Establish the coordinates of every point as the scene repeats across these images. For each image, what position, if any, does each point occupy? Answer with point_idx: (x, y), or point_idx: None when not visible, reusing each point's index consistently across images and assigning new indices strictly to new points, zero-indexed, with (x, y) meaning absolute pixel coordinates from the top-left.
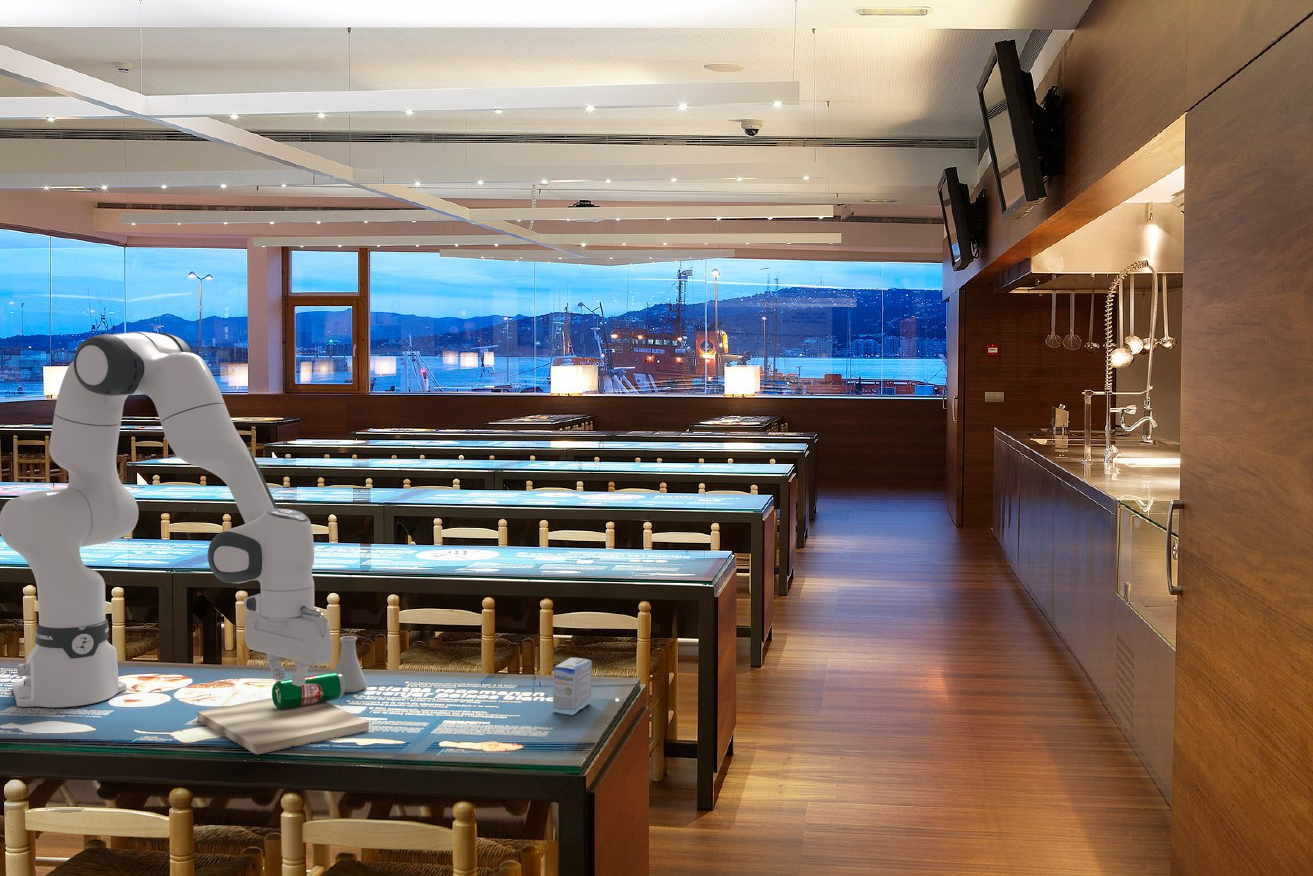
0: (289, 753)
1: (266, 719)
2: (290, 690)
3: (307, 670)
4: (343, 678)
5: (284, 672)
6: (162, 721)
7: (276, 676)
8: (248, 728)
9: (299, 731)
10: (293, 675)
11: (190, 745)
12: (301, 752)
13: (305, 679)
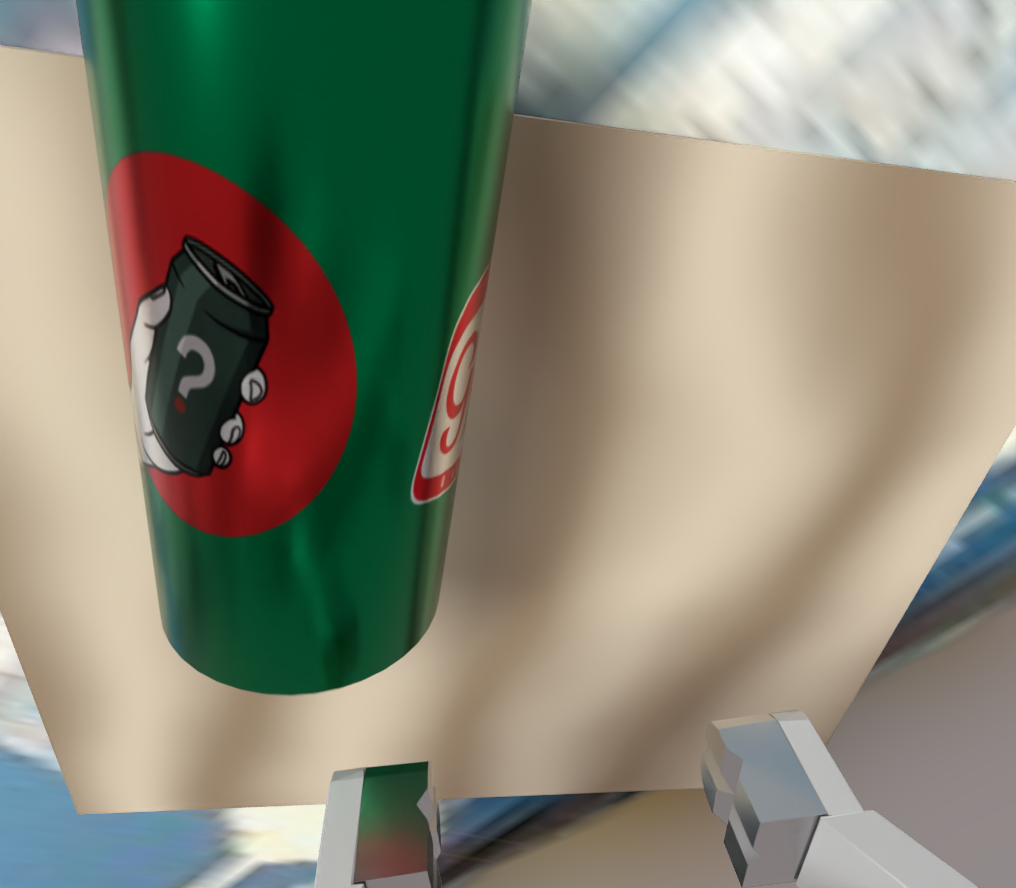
0: (890, 665)
1: (491, 643)
2: (428, 591)
3: (951, 871)
4: None
5: (427, 827)
6: (27, 852)
7: (435, 857)
8: (568, 743)
9: (831, 611)
10: (766, 882)
11: (474, 848)
12: (930, 631)
13: (358, 460)
